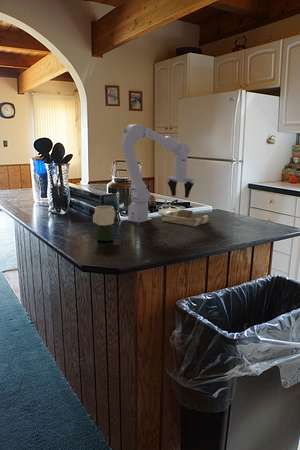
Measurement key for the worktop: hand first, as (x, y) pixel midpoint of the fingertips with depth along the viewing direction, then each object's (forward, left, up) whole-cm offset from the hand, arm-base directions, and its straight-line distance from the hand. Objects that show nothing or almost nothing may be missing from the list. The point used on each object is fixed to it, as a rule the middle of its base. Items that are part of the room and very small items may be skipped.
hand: (180, 196), depth 185 cm
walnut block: (-7, -8, -10) cm, 15 cm away
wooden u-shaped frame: (-7, -8, -10) cm, 14 cm away
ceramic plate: (+4, +7, -10) cm, 13 cm away
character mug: (-54, -2, -10) cm, 55 cm away
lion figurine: (+10, +30, -10) cm, 33 cm away
